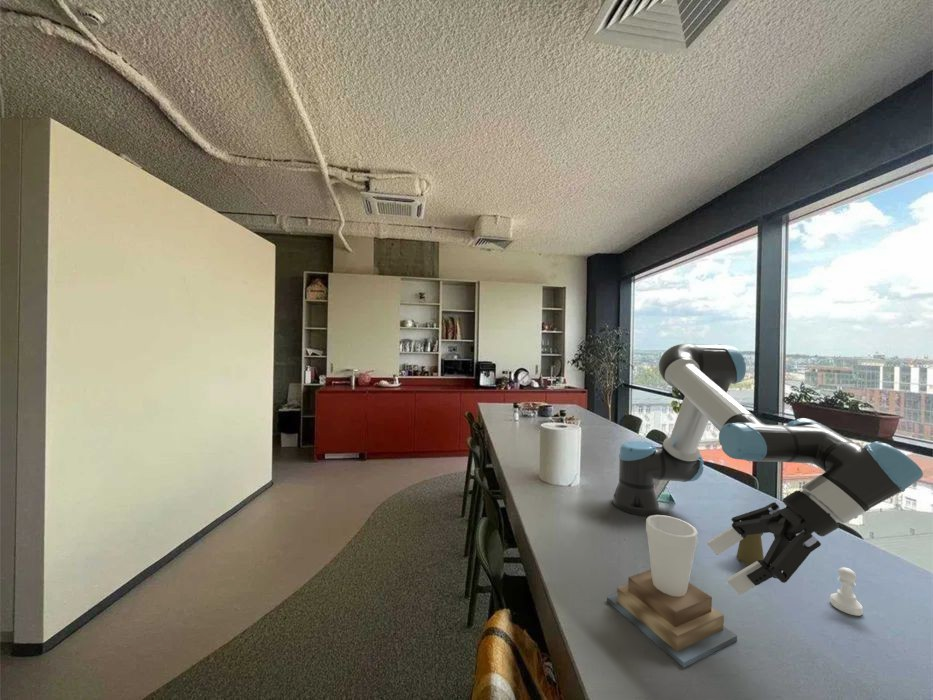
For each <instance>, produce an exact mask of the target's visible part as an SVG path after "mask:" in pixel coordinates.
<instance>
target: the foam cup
mask: <svg viewBox="0 0 933 700" xmlns="http://www.w3.org/2000/svg"><path fill="white" fill-rule="evenodd" d="M645 531H646V535H647V544H648V552H649V553H648V554H649V563H650V570H651V573H652V581H653V585H654V586H655V587H656V588H657V589H658V590H660V591H662V592H663V593H666V594H668V595H671V596H677V597H680V596H684V595H685V594H686V592H687V588H688V583H690V582H689V581H690V577H691V572H692V568H693V561H694V556H695V552H696V546H697V545H698V536H699V535H698V534H699V533H698V530H697V528H696V527H695V526H693V525H692V524H690V523H689V522H687V521H685V520H683V519H680V518H678V517H673V516H669V515H664V514H663V515H662V514H656V515H652V516H647V518H646V521H645Z"/></svg>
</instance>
